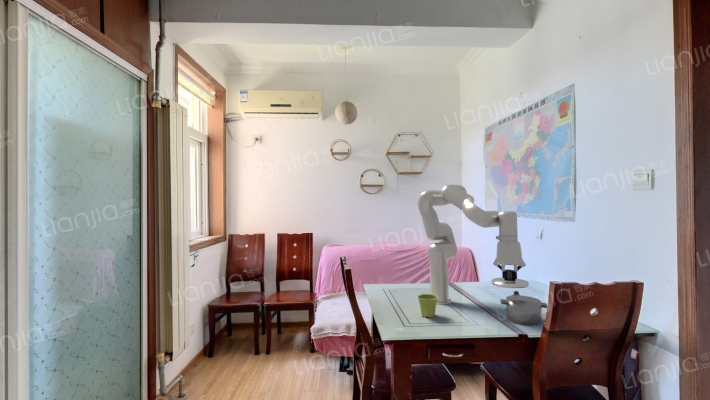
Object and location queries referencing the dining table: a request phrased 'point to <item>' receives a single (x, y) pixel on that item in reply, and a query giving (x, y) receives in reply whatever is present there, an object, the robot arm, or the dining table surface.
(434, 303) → the plant pot
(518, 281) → the lid
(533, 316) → the pot
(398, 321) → the dining table surface
